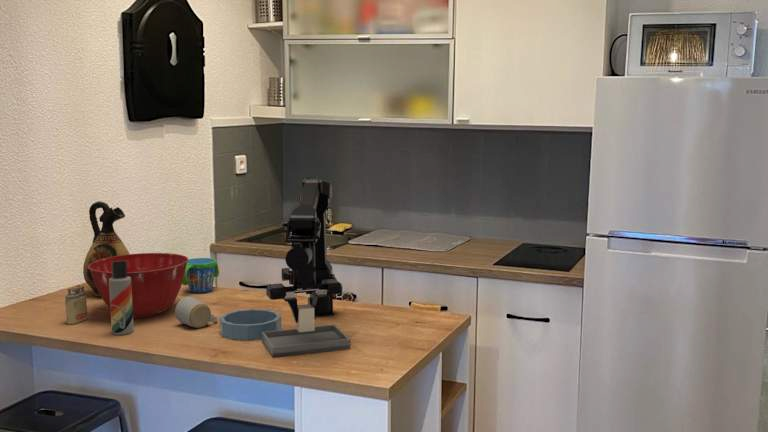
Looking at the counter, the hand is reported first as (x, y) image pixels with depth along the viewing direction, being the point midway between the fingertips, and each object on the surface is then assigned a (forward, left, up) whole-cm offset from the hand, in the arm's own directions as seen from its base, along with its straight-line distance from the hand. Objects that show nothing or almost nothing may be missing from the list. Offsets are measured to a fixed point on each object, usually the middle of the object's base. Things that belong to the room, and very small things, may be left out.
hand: (304, 321), depth 208 cm
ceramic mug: (+24, -29, -6) cm, 38 cm away
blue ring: (+11, -17, -6) cm, 21 cm away
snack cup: (+18, -68, -6) cm, 71 cm away
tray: (0, 0, -6) cm, 6 cm away
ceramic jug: (+47, -75, -6) cm, 89 cm away
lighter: (+56, -44, -6) cm, 72 cm away
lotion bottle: (+44, -28, -6) cm, 53 cm away
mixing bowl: (+38, -48, -6) cm, 61 cm away
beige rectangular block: (0, 0, -2) cm, 2 cm away
